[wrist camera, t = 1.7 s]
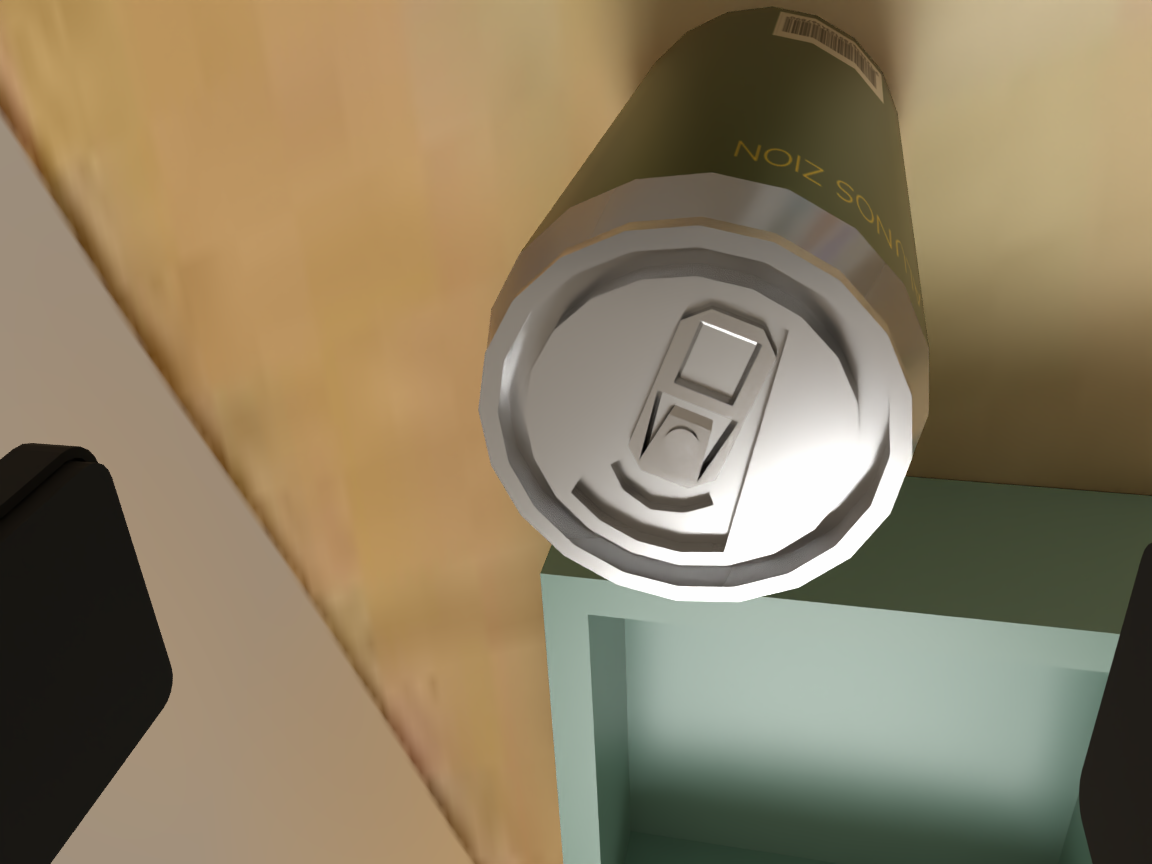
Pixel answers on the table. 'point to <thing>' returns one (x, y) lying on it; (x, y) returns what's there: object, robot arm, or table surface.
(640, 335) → the beer can
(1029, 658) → the open rectangular storage bin
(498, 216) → the table surface
